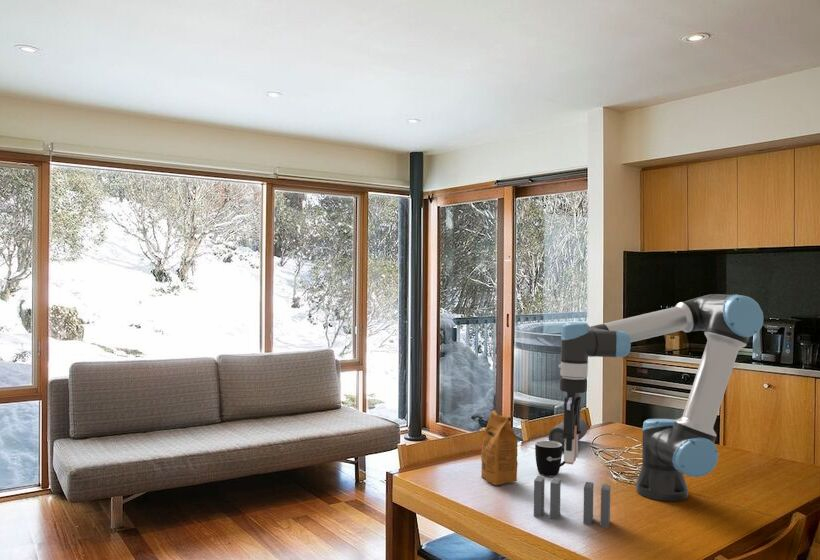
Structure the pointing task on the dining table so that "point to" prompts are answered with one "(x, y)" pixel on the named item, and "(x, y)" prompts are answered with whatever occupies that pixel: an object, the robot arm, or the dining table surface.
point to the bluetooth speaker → (559, 430)
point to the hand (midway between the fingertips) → (570, 459)
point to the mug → (548, 457)
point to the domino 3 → (575, 446)
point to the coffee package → (499, 451)
